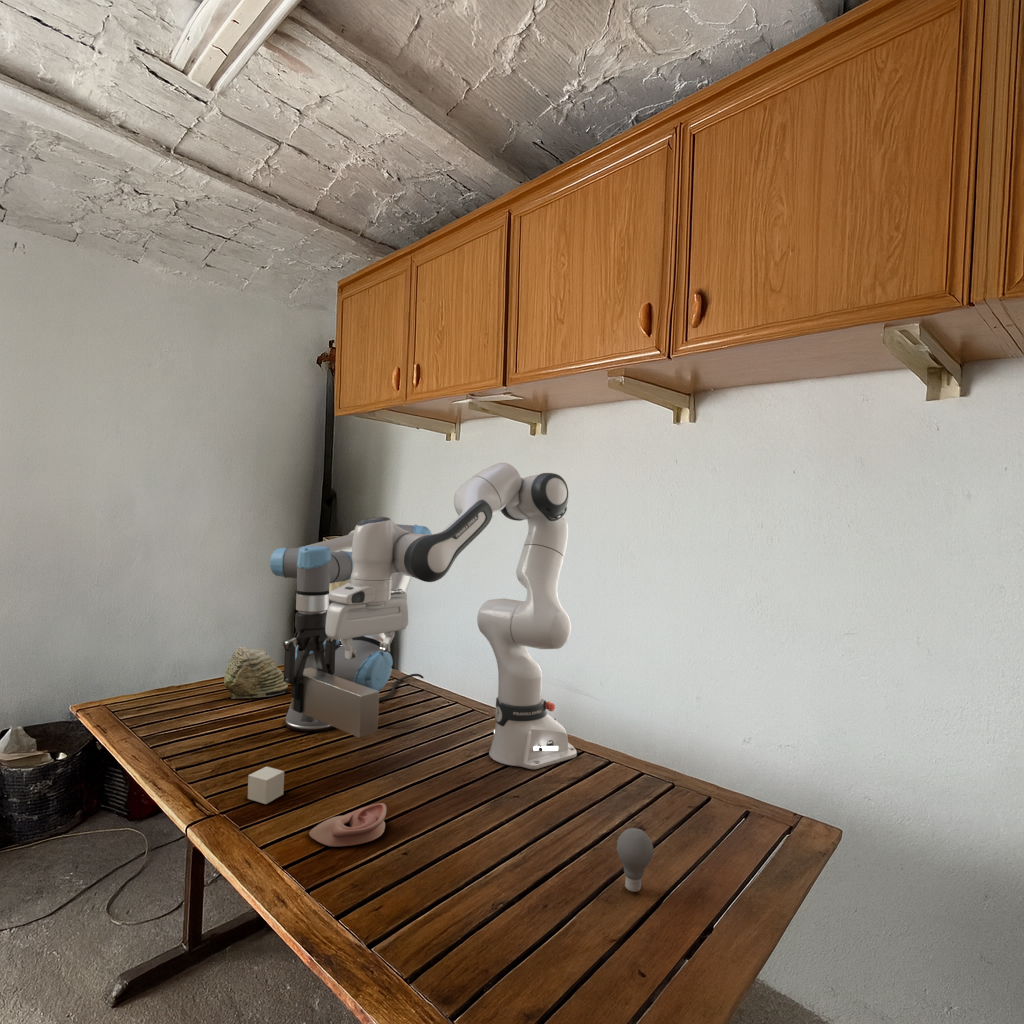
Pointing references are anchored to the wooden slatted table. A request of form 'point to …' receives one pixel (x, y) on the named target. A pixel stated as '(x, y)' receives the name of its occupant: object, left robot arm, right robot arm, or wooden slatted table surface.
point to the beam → (340, 702)
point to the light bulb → (634, 856)
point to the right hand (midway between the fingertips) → (367, 654)
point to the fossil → (253, 675)
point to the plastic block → (265, 785)
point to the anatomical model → (352, 827)
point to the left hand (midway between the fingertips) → (308, 708)
